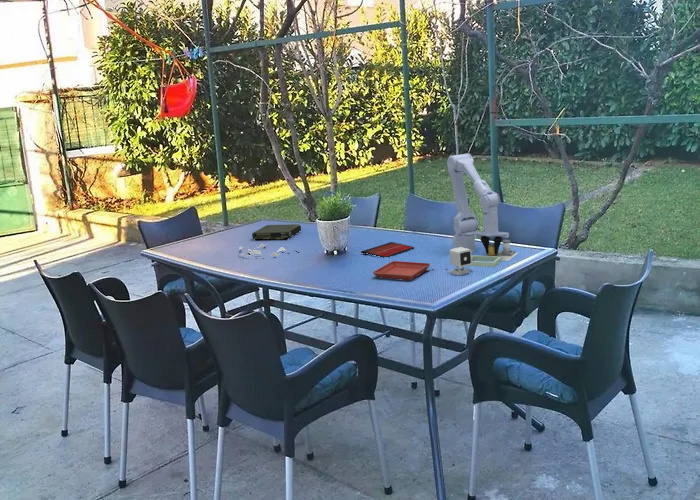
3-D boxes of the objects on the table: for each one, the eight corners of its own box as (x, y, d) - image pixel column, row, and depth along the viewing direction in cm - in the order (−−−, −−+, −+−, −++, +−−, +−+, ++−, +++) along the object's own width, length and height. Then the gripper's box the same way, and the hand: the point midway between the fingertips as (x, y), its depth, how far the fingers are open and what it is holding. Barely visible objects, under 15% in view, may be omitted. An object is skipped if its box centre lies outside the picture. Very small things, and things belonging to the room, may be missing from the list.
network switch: (250, 242, 376) (249, 233, 375) (263, 233, 399) (262, 224, 398) (292, 240, 372) (291, 231, 371) (302, 231, 395) (301, 222, 393)
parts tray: (463, 268, 287) (463, 261, 286) (472, 262, 295) (472, 255, 295) (494, 270, 280) (494, 262, 280) (502, 263, 289) (501, 256, 288)
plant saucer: (411, 283, 274) (411, 275, 273) (372, 279, 284) (371, 271, 283) (431, 271, 289) (431, 263, 288) (393, 268, 298) (392, 260, 298)
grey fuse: (501, 255, 298) (501, 241, 296) (504, 253, 301) (503, 239, 299) (509, 255, 296) (508, 241, 295) (511, 253, 299) (511, 239, 298)
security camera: (459, 276, 276) (458, 252, 274) (449, 273, 282) (448, 249, 280) (472, 273, 279) (471, 249, 276) (462, 270, 285) (461, 246, 283)
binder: (360, 250, 326) (390, 241, 340) (361, 255, 326) (390, 246, 340) (386, 255, 314) (416, 246, 329) (386, 260, 315) (416, 250, 329)
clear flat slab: (305, 252, 343) (304, 245, 342) (266, 263, 327) (265, 256, 327) (262, 245, 368) (261, 238, 368) (224, 255, 353) (223, 248, 352)
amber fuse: (487, 258, 294) (486, 244, 293) (489, 256, 297) (489, 243, 295) (494, 259, 292) (494, 245, 291) (497, 257, 295) (496, 243, 294)
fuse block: (481, 261, 294) (480, 256, 294) (491, 254, 305) (491, 249, 305) (508, 263, 288) (508, 258, 288) (518, 255, 299) (517, 250, 299)
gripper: (471, 223, 291) (472, 255, 295) (504, 224, 284) (506, 256, 287) (476, 220, 297) (478, 251, 300) (510, 221, 290) (511, 252, 293)
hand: (492, 253), depth 294 cm, fingers closed on amber fuse, 3 cm apart
